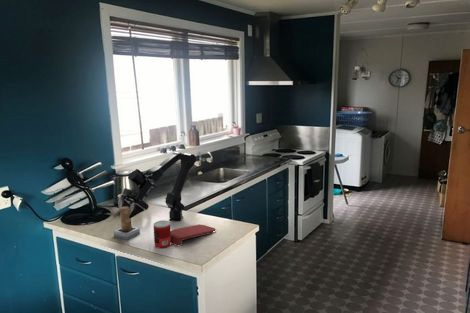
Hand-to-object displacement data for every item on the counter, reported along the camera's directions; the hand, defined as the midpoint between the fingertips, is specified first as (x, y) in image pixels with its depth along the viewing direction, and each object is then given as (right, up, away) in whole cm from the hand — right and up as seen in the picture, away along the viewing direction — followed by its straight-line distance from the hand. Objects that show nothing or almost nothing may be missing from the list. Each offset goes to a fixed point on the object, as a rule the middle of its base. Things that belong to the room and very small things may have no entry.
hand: (124, 215), depth 186 cm
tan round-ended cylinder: (0, -9, +2) cm, 9 cm away
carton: (+34, -11, +1) cm, 36 cm away
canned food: (+21, -13, -10) cm, 27 cm away
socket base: (0, -10, +2) cm, 10 cm away
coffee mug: (-9, -3, +41) cm, 43 cm away
